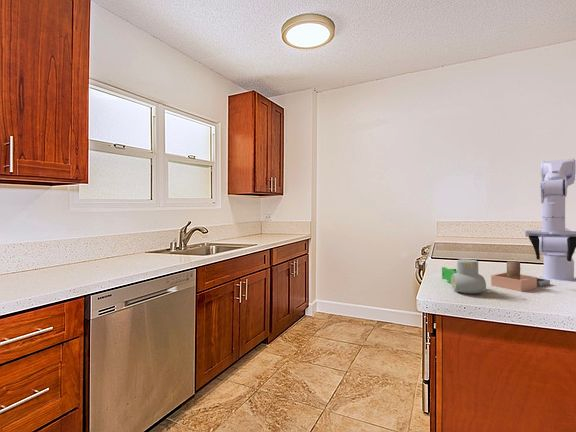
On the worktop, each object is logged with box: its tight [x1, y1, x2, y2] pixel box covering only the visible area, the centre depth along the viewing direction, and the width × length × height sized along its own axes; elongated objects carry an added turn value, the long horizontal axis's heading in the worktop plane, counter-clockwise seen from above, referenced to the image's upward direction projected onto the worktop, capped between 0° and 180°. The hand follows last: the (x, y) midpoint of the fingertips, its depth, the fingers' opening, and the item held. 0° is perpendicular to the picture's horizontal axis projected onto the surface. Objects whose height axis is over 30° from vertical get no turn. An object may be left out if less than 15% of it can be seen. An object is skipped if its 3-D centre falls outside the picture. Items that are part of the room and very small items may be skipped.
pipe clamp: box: [441, 266, 457, 285], centre depth 115 cm, size 11×4×5 cm, turn 173°
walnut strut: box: [506, 261, 521, 280], centre depth 105 cm, size 4×4×8 cm
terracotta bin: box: [490, 271, 538, 293], centre depth 105 cm, size 9×9×4 cm
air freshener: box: [450, 258, 487, 295], centre depth 102 cm, size 11×8×10 cm
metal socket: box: [537, 277, 551, 288], centre depth 108 cm, size 6×6×2 cm
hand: (553, 259), depth 103 cm, fingers open, 7 cm apart
